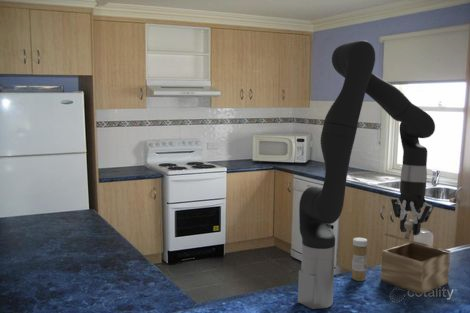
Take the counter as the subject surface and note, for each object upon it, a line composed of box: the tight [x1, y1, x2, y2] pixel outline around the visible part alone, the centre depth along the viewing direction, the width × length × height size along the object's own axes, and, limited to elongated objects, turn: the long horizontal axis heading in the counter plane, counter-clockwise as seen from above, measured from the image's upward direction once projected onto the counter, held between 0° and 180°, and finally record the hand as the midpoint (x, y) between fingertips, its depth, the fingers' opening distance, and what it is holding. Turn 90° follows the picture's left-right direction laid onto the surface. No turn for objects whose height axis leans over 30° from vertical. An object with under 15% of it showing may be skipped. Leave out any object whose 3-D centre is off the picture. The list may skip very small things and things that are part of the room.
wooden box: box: [380, 242, 451, 295], centre depth 152 cm, size 16×14×10 cm
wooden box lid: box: [384, 218, 451, 254], centre depth 152 cm, size 16×14×7 cm
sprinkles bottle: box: [351, 237, 368, 282], centre depth 154 cm, size 5×5×14 cm
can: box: [413, 228, 434, 248], centre depth 171 cm, size 6×6×12 cm
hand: (409, 233), depth 148 cm, fingers closed on wooden box lid, 3 cm apart
